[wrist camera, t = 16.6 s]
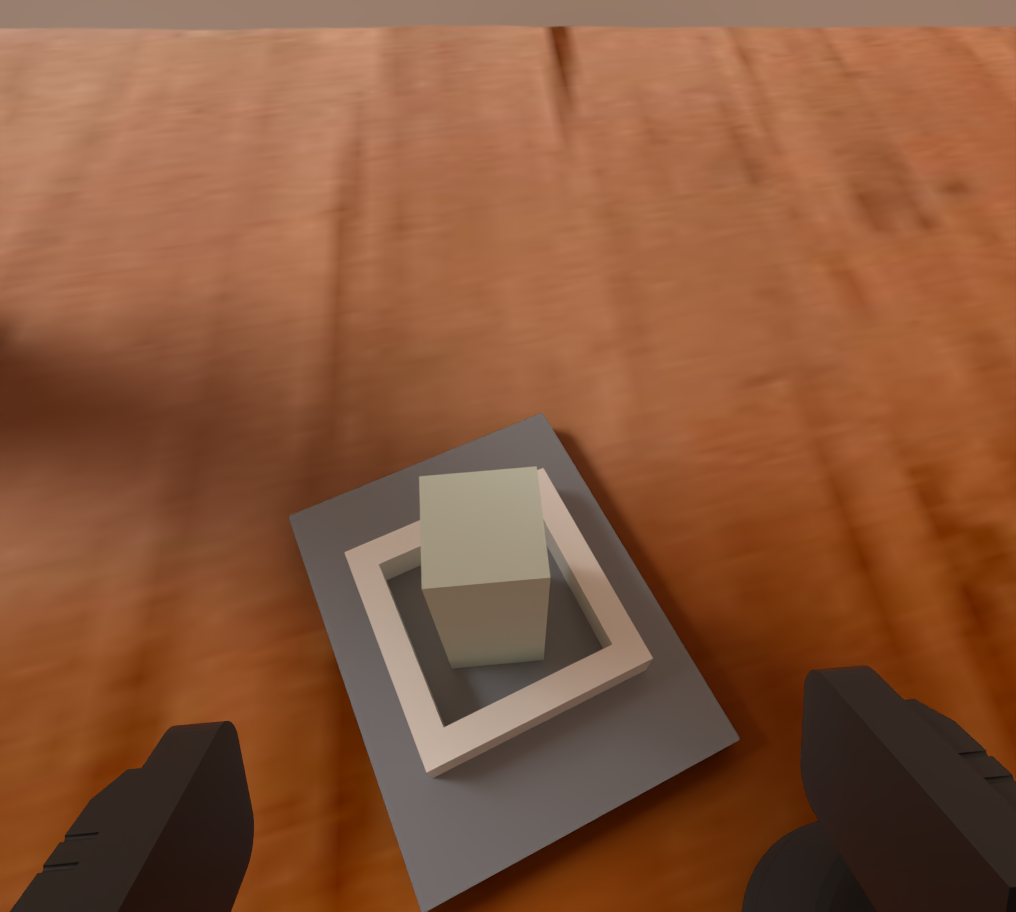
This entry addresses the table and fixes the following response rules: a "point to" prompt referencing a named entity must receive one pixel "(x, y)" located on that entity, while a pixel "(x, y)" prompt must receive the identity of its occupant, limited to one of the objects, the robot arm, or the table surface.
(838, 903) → the pen holder
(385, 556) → the grey base with frame
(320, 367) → the table surface
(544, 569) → the sage block
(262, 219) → the table surface
